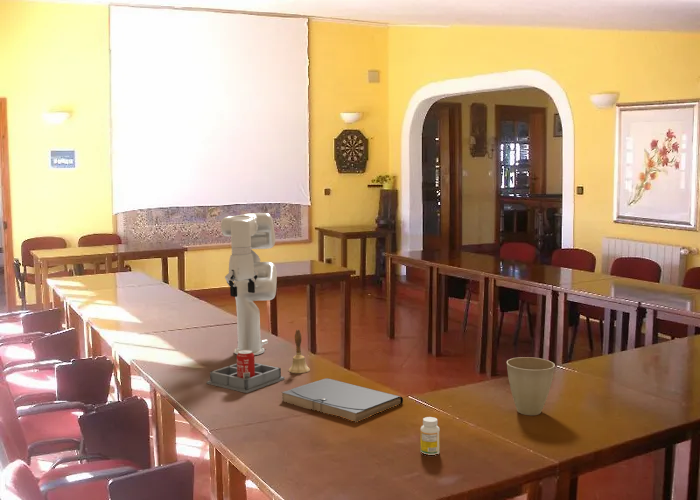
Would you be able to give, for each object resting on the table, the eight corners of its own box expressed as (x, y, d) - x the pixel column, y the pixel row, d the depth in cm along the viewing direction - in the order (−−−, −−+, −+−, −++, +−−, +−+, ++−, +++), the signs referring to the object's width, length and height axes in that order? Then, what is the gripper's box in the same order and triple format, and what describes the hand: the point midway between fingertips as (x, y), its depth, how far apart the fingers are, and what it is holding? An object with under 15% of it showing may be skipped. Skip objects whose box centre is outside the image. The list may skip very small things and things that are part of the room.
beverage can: (256, 381, 279) (255, 349, 278) (253, 386, 273) (251, 353, 272) (239, 381, 280) (238, 349, 279) (235, 386, 274) (234, 353, 272)
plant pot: (527, 422, 236) (527, 372, 234) (496, 408, 249) (496, 360, 247) (564, 414, 242) (565, 365, 240) (532, 401, 256) (533, 354, 253)
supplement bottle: (432, 458, 210) (432, 424, 208) (416, 453, 213) (416, 419, 212) (443, 452, 214) (443, 418, 213) (427, 447, 217) (427, 414, 216)
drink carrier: (245, 370, 296) (245, 359, 296) (284, 379, 285) (284, 367, 284) (206, 383, 280) (206, 372, 280) (246, 393, 269) (246, 381, 268)
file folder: (281, 391, 259) (329, 376, 277) (281, 403, 259) (330, 387, 277) (355, 412, 237) (403, 394, 255) (355, 425, 237) (403, 406, 255)
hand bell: (284, 372, 294) (283, 331, 292) (294, 366, 301) (293, 326, 299) (304, 374, 291) (303, 333, 289) (313, 368, 298) (312, 328, 296)
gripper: (249, 248, 308) (251, 290, 310) (218, 253, 294) (219, 297, 297) (263, 249, 304) (264, 292, 306) (232, 254, 290) (233, 299, 292)
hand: (242, 294), depth 301 cm, fingers open, 9 cm apart
